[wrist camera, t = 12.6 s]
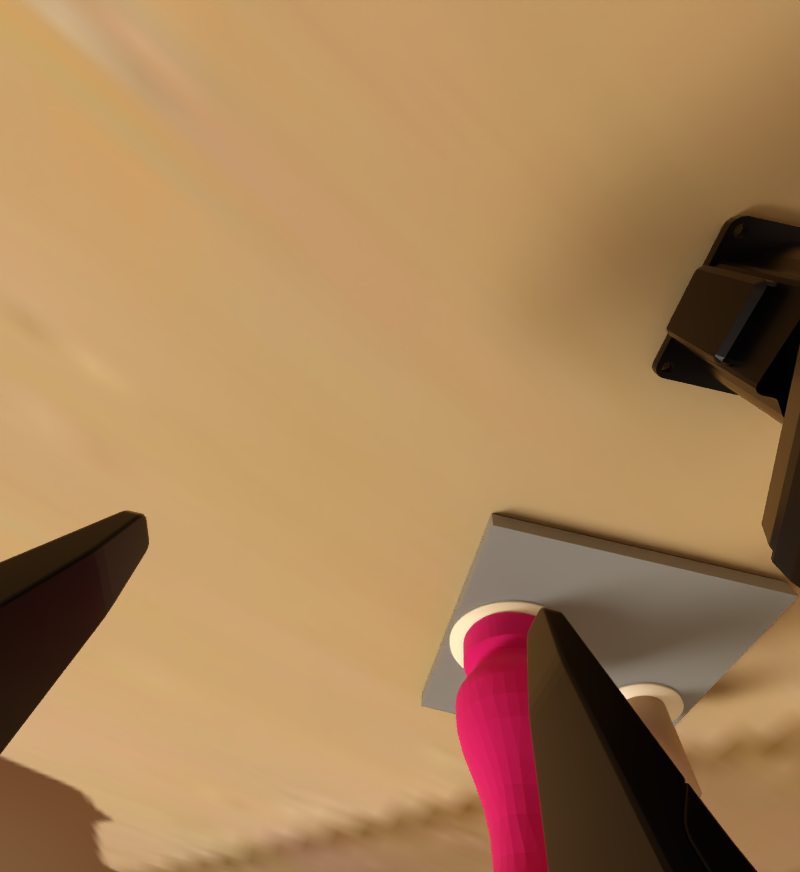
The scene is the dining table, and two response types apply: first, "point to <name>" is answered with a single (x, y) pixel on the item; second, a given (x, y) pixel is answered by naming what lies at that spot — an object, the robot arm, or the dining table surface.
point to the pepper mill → (502, 739)
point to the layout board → (616, 616)
